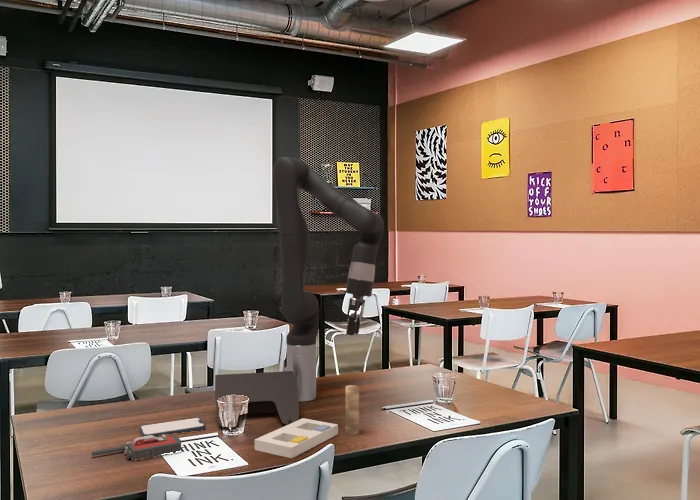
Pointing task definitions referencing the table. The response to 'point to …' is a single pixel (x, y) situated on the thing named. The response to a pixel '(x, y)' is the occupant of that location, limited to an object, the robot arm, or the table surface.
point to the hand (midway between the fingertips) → (352, 334)
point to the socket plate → (296, 437)
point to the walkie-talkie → (146, 447)
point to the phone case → (173, 427)
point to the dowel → (352, 409)
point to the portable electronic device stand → (262, 392)
